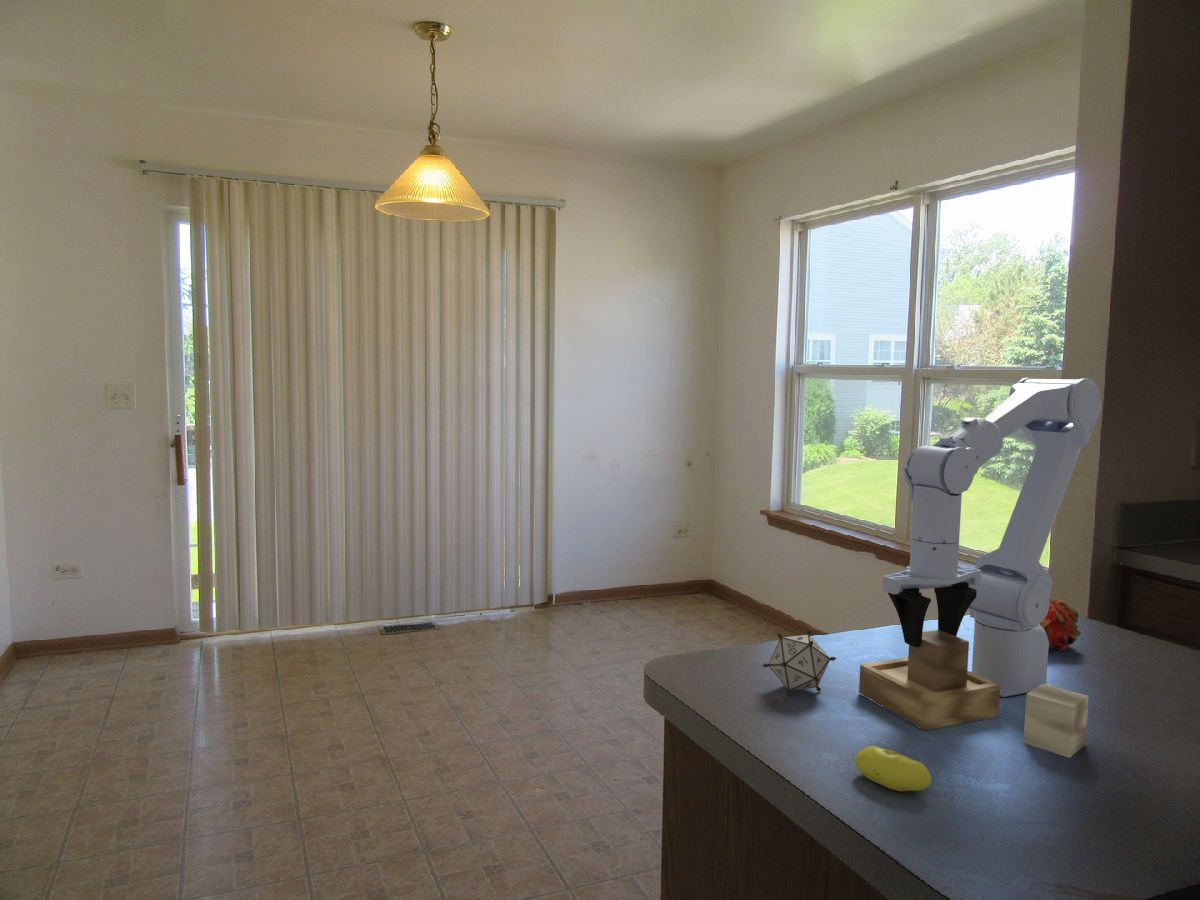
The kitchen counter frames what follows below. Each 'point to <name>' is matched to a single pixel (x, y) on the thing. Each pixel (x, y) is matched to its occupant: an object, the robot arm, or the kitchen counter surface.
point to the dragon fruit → (1060, 625)
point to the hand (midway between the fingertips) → (929, 642)
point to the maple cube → (1056, 720)
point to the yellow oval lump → (892, 769)
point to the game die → (799, 662)
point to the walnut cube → (939, 661)
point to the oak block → (928, 696)
